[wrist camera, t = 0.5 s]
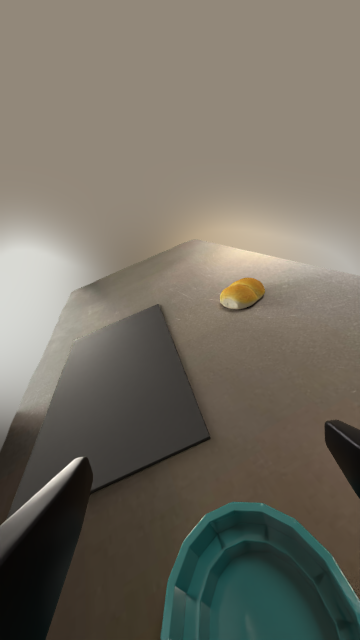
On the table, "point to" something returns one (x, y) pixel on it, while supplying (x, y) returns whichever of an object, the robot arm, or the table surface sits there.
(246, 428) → the table surface
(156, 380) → the mat
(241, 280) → the bread roll
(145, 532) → the table surface
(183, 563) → the bowl
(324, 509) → the table surface
